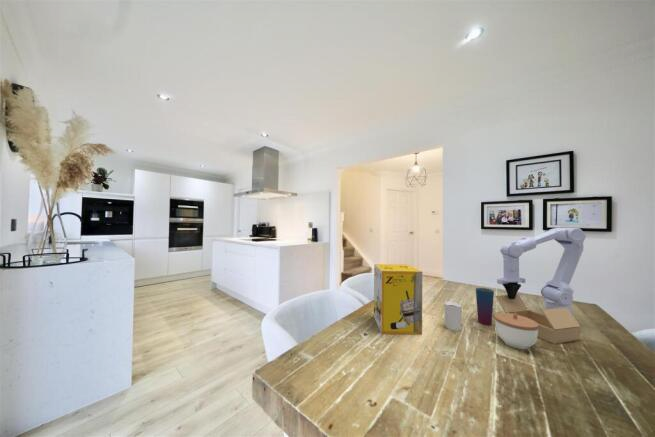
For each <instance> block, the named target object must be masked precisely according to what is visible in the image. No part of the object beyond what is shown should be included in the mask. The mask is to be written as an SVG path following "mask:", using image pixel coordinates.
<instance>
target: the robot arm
mask: <svg viewBox="0 0 655 437" xmlns="http://www.w3.org/2000/svg"><path fill="white" fill-rule="evenodd" d="M586 236H587V235H586V233H585V232H584V231H583V230H582V228H579V227H553V228H551V229H548V231H545V232H543V233H541V234H538V235H536V236H534V237H532V238H531V237H526V236H522V237H521V239H520V240H516V241H512V242H511V243H506V244H503V245H502V246H501V248H500V249H499V251H500V253H501V254H502V258H503V262H502V263H503V277H501V278H498V279H496V281H497V284H498V285H502V286H503V287H504V289H505V292H506V295H508V298H510V299H515V297H516V294H518V292H519V290H520V288H521V287H522V284H521V283H523V284H526V278H523V277H520V257H521V256H522V255H523V254H524V253H526V252H529V251H531V250H534V249H536V248H537V245H539V244H543V243H546V242H549V241H552V240H554V241H555V242H557V243H558V244H559V245H560V246H562V248H563V249H564V250H563V253H562V255H561V258H560V260H559V262H558V265H557V267H556V270H555V273H554V275H553V277H552V280H551V279H550V280H548V281H546V283H545V285H544V286H543V287H542V288H541V289H540V294H541V296H542V298H543V299H544V301H545V304H544V305H545V309H544V310H546V309H556V308H568V309H569V311H570V312H571V314H572V315H573V316H574V309H573V307H572V306H571V305H570V304H572V302H573V300H574V297H573V294H574V290H573V288H572V287H571V285H570V284H571V282H572V278H573V276H574V273H575V271H576V269H577V266H578V264H579V261H580V259H581V256H582V254H583V251H584V242H585V239H586Z"/></svg>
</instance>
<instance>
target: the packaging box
mask: <svg viewBox="0 0 655 437" xmlns="http://www.w3.org/2000/svg"><path fill="white" fill-rule="evenodd" d="M373 272H374V273H373V287H374V288H373V318H374V320H375V323H376V325H377V326H378V329H379V331H380V333H381V335H386V334H387V335H390V334H391V335H423V271H421V270H420V269H418V268H416V267H414V266H412V265H411V264H386V263H385V264H383V263H380V264H379V263H378V264H377V263H374V264H373Z"/></svg>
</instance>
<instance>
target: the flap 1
mask: <svg viewBox="0 0 655 437" xmlns="http://www.w3.org/2000/svg"><path fill="white" fill-rule="evenodd" d="M495 298H496V300H497V301H498V302H499V304H500V306H501V309H502V310H503V311H504V312H503V313H505V312H510V311H521V310H529V308H528V307H527V305H526V304H525V302H524V301H523V299H522V297H521V296H520V294H518V293H517V294H516V297H515V299H510V298H508V295H507V294H503V295H502V294H501V295H496V296H495Z"/></svg>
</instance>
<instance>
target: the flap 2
mask: <svg viewBox="0 0 655 437" xmlns="http://www.w3.org/2000/svg"><path fill="white" fill-rule="evenodd" d="M540 311H541V312H542V315H544V316H545V317H546V319H547V320H548V322H549V323H550V325H551V326H552V328H553V329H554V330H555V329H563V328H571V327H581V325H580V323H579V322H578V321H577V318H575V316H574V314H573V315H572V314H571V312H570V311H569V309H568V308H556V309H546V310H545V309H541V310H540Z"/></svg>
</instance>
